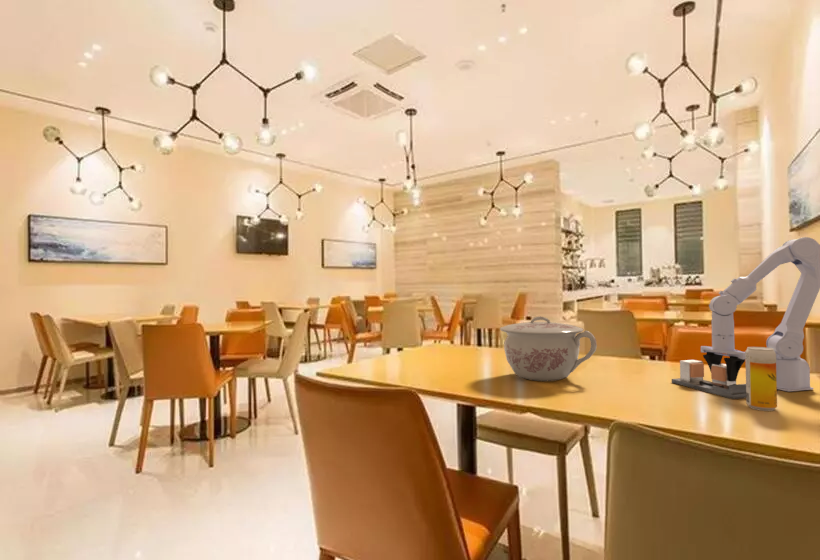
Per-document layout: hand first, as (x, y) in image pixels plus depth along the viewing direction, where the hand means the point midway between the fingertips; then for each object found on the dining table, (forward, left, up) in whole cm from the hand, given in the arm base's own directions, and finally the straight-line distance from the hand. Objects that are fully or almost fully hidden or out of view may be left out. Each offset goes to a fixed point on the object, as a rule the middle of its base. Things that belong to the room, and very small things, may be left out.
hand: (723, 379), depth 139 cm
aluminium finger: (0, 0, -2) cm, 2 cm away
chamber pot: (+47, -26, -2) cm, 54 cm away
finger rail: (+9, +4, -2) cm, 10 cm away
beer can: (+14, +23, -2) cm, 27 cm away
